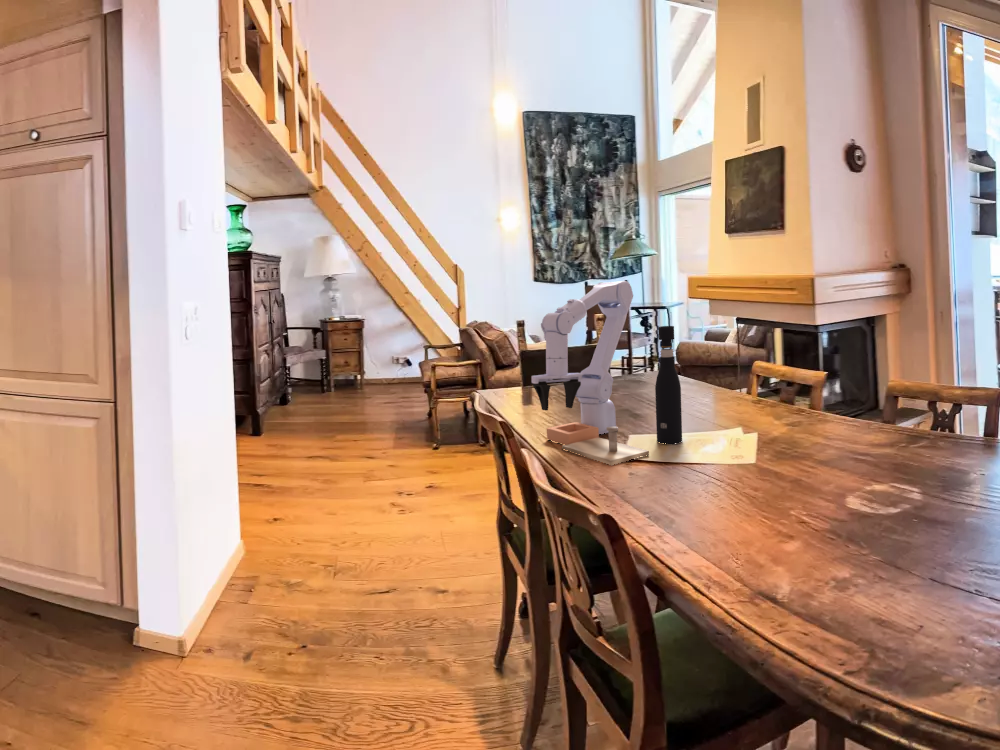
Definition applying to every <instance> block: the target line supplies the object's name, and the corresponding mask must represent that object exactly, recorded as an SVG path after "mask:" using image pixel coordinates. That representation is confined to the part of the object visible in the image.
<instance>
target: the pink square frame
mask: <svg viewBox="0 0 1000 750" xmlns="http://www.w3.org/2000/svg"><path fill="white" fill-rule="evenodd" d="M597 437H599V438H600V435H599V429H598V427H594V426H590V425H586V424H582V423H581V422H577V421H576V422H575V421H574V422H568V423H565V424H559V425H555V426H551V427H546V439H549V440H552V441H555V442H558V443H562V444H565V445H567V444H571V443H576V442H580V441H584V440H589V439H593V438H597Z"/></svg>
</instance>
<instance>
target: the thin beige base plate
mask: <svg viewBox="0 0 1000 750" xmlns="http://www.w3.org/2000/svg"><path fill="white" fill-rule="evenodd" d="M607 431H608V433H607V434H608V439H606V438H602V437H600V436H599V437H597V438H593V439H589V440H584V441H580V442H576V443H571V444H567V445H561V450H562V449H565V450H568V451H571V452H574V453H577V454H580V455H582V456H585V457H588V458H587V459H589V458H591V459H590V460H592V459H594V460H593V461H595V460H597V461H596V462H598V461H600V462H599V463H601V462H603V463H602V464H604V463H606V464H605V465H607V464H609V465H608V466H610V465H611V466H614V464H615V465H618V463H619V464H622V463H621V462H623V463H626V461H627V462H630V461H629V460H631V459H634V458H637V457H640V456H646V455H649V456H650V451H649V450H647V449H643V448H639V447H636V446H633V445H632V446H631V445H628V444H625V443H621V442H618V433H617V432H618V431H619V427H618V426H616V427H615V426H611V427H607ZM582 456H581V457H582ZM585 457H584V458H585ZM646 457H647V456H646ZM634 460H635V459H634ZM631 461H632V460H631Z"/></svg>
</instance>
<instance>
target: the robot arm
mask: <svg viewBox="0 0 1000 750" xmlns="http://www.w3.org/2000/svg"><path fill="white" fill-rule="evenodd" d="M592 286H593V287H592V289H591V290H590V291H589V292H587V293H586V294H585V295H583V296H582V297H581V298H580V299H577V298H576V299H575V298H569V299H568V300H567V301H566V303H565V304H564V305H563V306H560V307H557V308H556V310H555V311H554V312H548V313H547V314H545V316H544V317H543V318H542V321H541V323H540V328H541V331H542V332H543V339H544V340H545V370H546V371H545V373H544V374H538V375H531V384H532V386H533V388H534V390H535V393H536V394H537V396H538V400H539V403H540V408H541V410H542V411H549V397H550V390H551V385H550V384H548V383H557V382H562V383H563V388H564V396H565V408H567V409H572V408H573V406H574V402H575V398H577V399H578V400H577V401H578V402H579V403H580V423H582V424H586V425H590V426H594V427H598V429H599V434H601V435H605V434H608V431H607V427H611V426H615V427H617V419H616V416H617V415H616V407H615V404H614V403H613V401H612V400H611V399H610V398H611V396H612V391H613V383H614V378H613V376H612V374H611V373H610V372H609V370H610V368H611V364H612V361H613V358H614V356H615V352H616V349H617V347H618V344H619V340H620V337H621V335H622V332H623V329H624V326H625V323H626V319H627V318H628V317H627V316H628V315H627V314H628V313H629V310H630V307H631V304H632V301H633V299H634V293H633V289H632V286H631V283H630V282H628V281H627V280H621V281H610V282H608V281H607V282H598V283H596V284H595V285H592ZM596 305H598V308H599V309H600V311H601V313H602V314H603V315H604V316H605V317H606V318H605V320H604V321H605V322H604V324H603V327H602V330H601V333H600V335H599V338H598V341H597V344H596V348H595V349H594V351H593V356H592V359H591V361H590V364H589V366H587V367H586V368H584V369H582V370H581V371H580V372H569V366H568V365H569V364H568V363H569V362H568V360H569V359H568V355H569V353H568V349H569V348H568V347H569V346H568V345H569V344H568V343H569V342H568V341H569V340H568V339H569V338H568V337H569V336H568V334H570V333H571V332H572V329H573V327H574V326H575V324H577V323H578V322H579V321H581V320H582V319H583V318H585V317H586V315H587V311H588V310H589V309H591V308H593V307H595V306H596ZM604 433H605V434H604Z"/></svg>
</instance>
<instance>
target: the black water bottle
mask: <svg viewBox="0 0 1000 750" xmlns="http://www.w3.org/2000/svg"><path fill="white" fill-rule="evenodd" d="M657 329H658V340H660V341H661V348H662V349H660V351H659V352H660V354H659V355H660V356H659V368H658V373H657V376H656V380H655V386H654V391H655V393H654V395H655V417H656V418H655V420H656V421H655V422H656V423H655V425H656V442H657V441H658V442H660V443H664V444H663V445H667V444H672V445H676V444H675V443H679V442H681V441H682V442H683V427H682V426H683V424H682V422H683V419H682V414H683V413H682V388H681V386H682V385H681V381H680V377H679V374H678V371H677V369H676V364H675V363H676V361H675V359H676V357H675V356H674V355H675V354H674V349H673V342H672V340H675V326H674V325H664V326H663V325H662V326H658V328H657ZM658 442H657V443H658ZM682 442H681V443H682ZM660 443H659V444H660ZM665 443H666V444H665ZM679 444H680V443H679Z"/></svg>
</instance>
